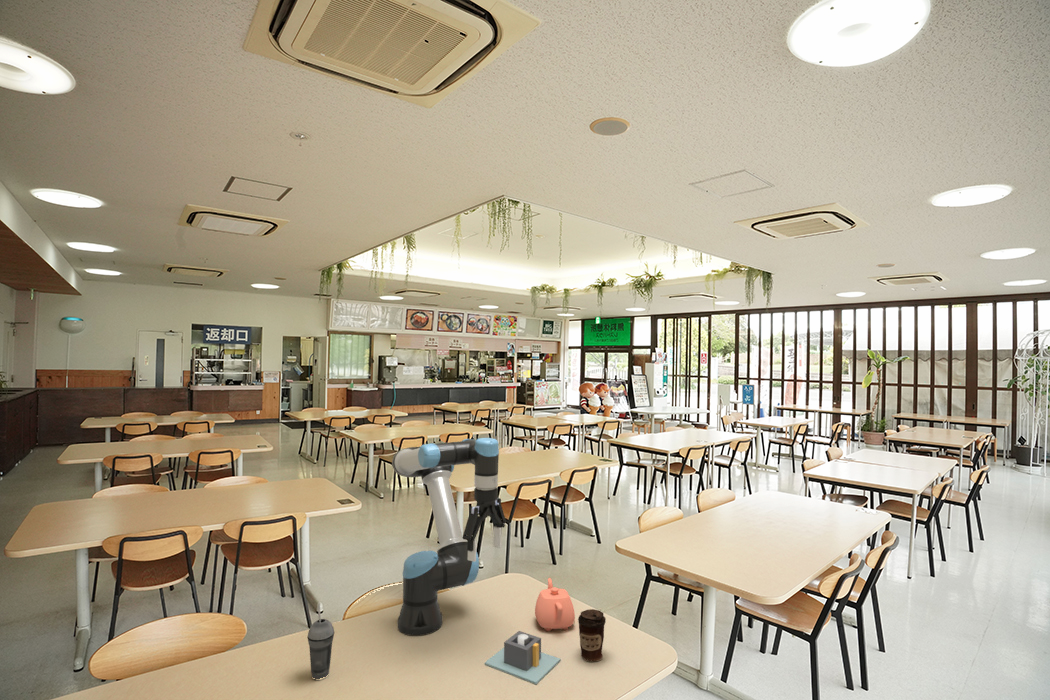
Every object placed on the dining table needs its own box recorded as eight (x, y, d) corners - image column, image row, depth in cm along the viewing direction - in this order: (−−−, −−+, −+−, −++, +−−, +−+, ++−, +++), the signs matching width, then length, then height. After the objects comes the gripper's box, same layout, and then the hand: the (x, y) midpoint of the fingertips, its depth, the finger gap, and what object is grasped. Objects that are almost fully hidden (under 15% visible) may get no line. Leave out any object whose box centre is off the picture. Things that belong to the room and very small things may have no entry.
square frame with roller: (504, 662, 154) (504, 642, 154) (518, 650, 161) (518, 630, 161) (530, 672, 149) (530, 651, 149) (544, 659, 156) (544, 639, 156)
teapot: (566, 608, 190) (566, 575, 191) (580, 636, 170) (580, 599, 171) (530, 611, 188) (530, 577, 189) (540, 639, 168) (540, 601, 169)
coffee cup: (605, 666, 153) (604, 621, 154) (576, 663, 155) (576, 619, 155) (606, 650, 162) (606, 608, 162) (579, 648, 163) (579, 606, 164)
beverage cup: (317, 686, 144) (318, 612, 144) (301, 678, 147) (302, 606, 148) (339, 673, 150) (340, 602, 150) (323, 665, 154) (324, 596, 154)
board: (484, 664, 154) (484, 638, 155) (511, 643, 166) (511, 619, 166) (536, 684, 145) (536, 656, 145) (560, 660, 156) (560, 635, 157)
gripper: (471, 498, 154) (470, 569, 154) (516, 481, 175) (515, 544, 175) (451, 494, 158) (450, 563, 158) (498, 478, 179) (497, 539, 179)
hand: (484, 553), depth 167 cm, fingers open, 13 cm apart
